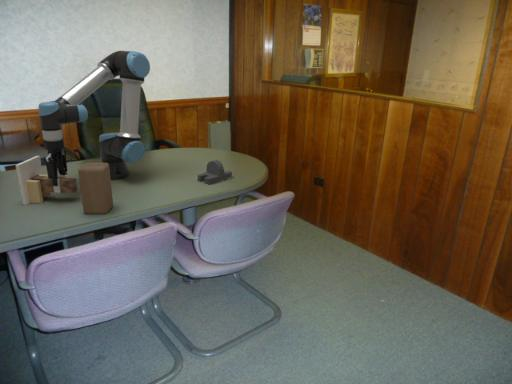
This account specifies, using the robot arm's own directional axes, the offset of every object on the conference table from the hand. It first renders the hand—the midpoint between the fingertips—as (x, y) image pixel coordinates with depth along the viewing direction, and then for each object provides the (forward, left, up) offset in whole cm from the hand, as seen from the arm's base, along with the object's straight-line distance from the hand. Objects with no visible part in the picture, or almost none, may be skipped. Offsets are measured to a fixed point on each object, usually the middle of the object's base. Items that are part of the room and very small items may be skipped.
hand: (60, 190), depth 171 cm
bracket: (-64, -41, -5) cm, 76 cm away
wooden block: (-21, +8, -5) cm, 23 cm away
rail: (+2, 0, 0) cm, 2 cm away
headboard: (+9, 0, -5) cm, 11 cm away
